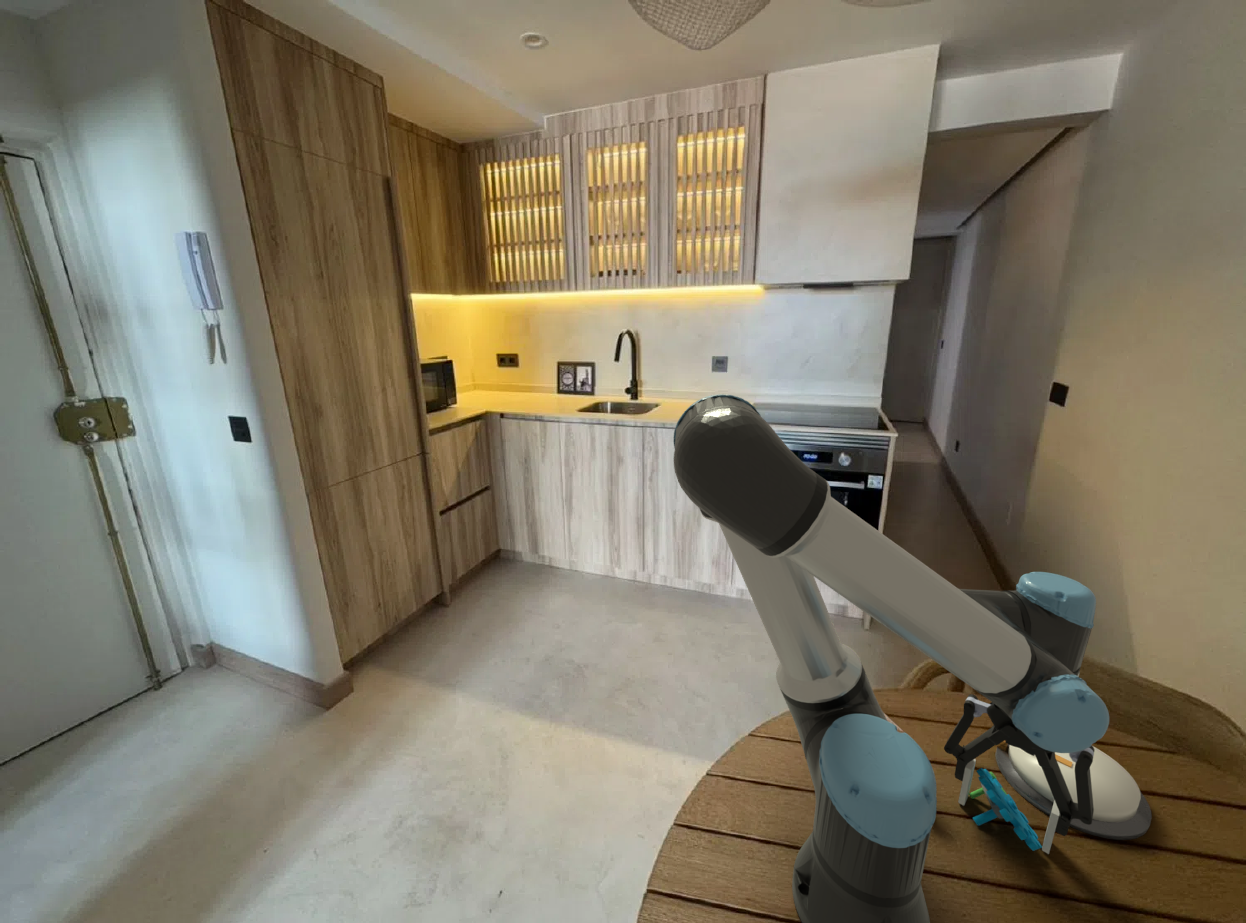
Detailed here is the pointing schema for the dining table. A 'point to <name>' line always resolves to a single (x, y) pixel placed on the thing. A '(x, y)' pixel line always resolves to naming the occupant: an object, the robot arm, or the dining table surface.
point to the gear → (1003, 808)
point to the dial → (1108, 779)
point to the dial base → (1097, 828)
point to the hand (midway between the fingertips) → (1003, 820)
